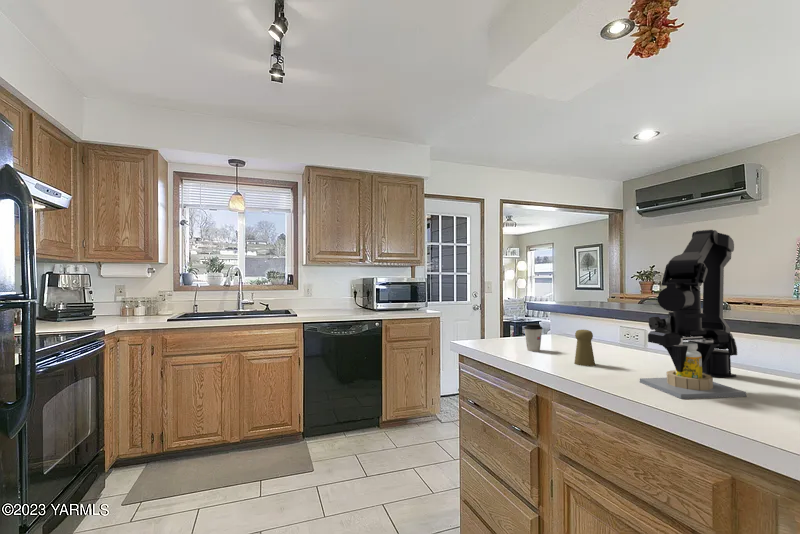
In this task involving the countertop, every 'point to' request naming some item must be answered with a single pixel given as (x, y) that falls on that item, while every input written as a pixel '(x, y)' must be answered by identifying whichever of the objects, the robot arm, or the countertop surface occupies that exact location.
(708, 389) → the socket stand
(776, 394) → the countertop surface
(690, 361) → the supplement bottle
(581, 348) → the cork
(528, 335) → the coffee cup
